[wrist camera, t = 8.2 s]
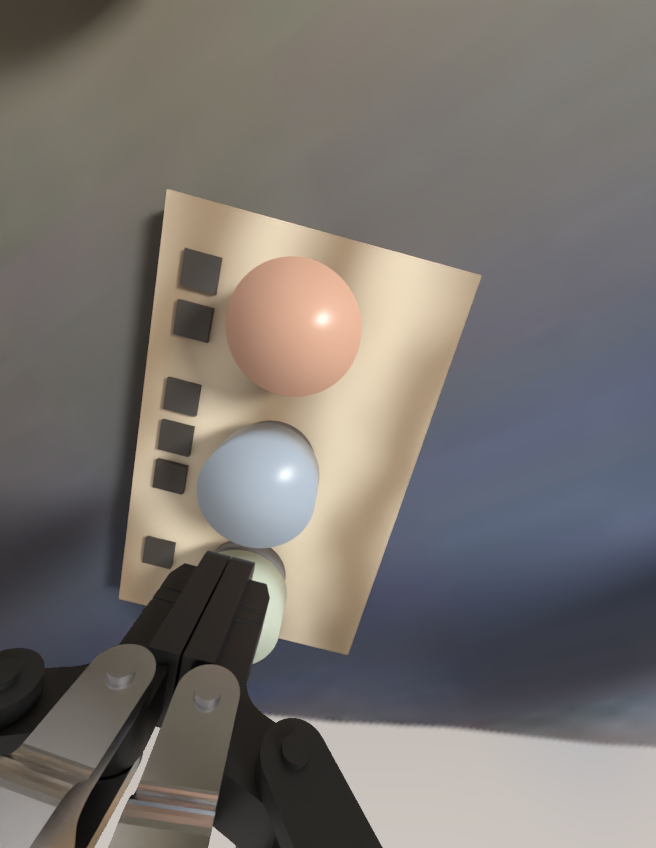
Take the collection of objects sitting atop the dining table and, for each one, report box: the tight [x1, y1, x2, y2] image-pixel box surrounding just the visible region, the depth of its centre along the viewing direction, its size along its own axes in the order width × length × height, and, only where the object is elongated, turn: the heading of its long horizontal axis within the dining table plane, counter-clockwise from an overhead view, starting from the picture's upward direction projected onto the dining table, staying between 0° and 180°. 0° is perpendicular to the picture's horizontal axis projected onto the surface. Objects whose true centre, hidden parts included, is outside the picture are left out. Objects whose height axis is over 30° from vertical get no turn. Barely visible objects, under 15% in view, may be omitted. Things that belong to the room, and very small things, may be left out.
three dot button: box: [197, 423, 319, 548], centre depth 17 cm, size 5×5×2 cm
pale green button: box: [218, 550, 287, 664], centre depth 19 cm, size 5×5×2 cm
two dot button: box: [226, 256, 362, 397], centre depth 15 cm, size 5×5×2 cm
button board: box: [119, 189, 482, 655], centre depth 20 cm, size 14×22×3 cm, turn 166°
